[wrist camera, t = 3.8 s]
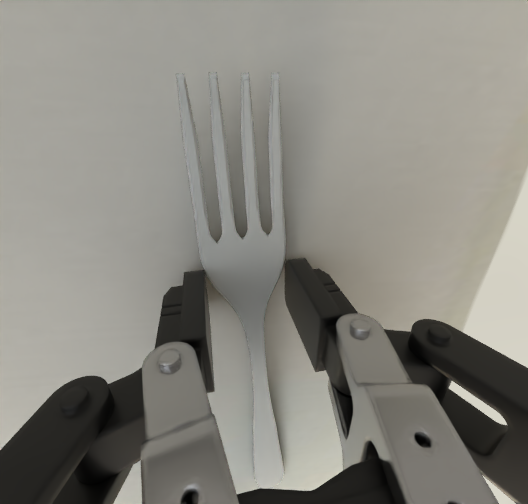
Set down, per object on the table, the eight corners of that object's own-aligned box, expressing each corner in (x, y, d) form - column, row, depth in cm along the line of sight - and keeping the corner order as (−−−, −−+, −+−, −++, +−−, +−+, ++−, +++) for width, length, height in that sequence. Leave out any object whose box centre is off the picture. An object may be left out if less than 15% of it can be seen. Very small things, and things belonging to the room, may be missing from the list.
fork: (247, 492, 19) (251, 525, 18) (164, 79, 8) (156, 74, 6) (292, 479, 20) (300, 511, 18) (278, 72, 8) (296, 66, 7)
